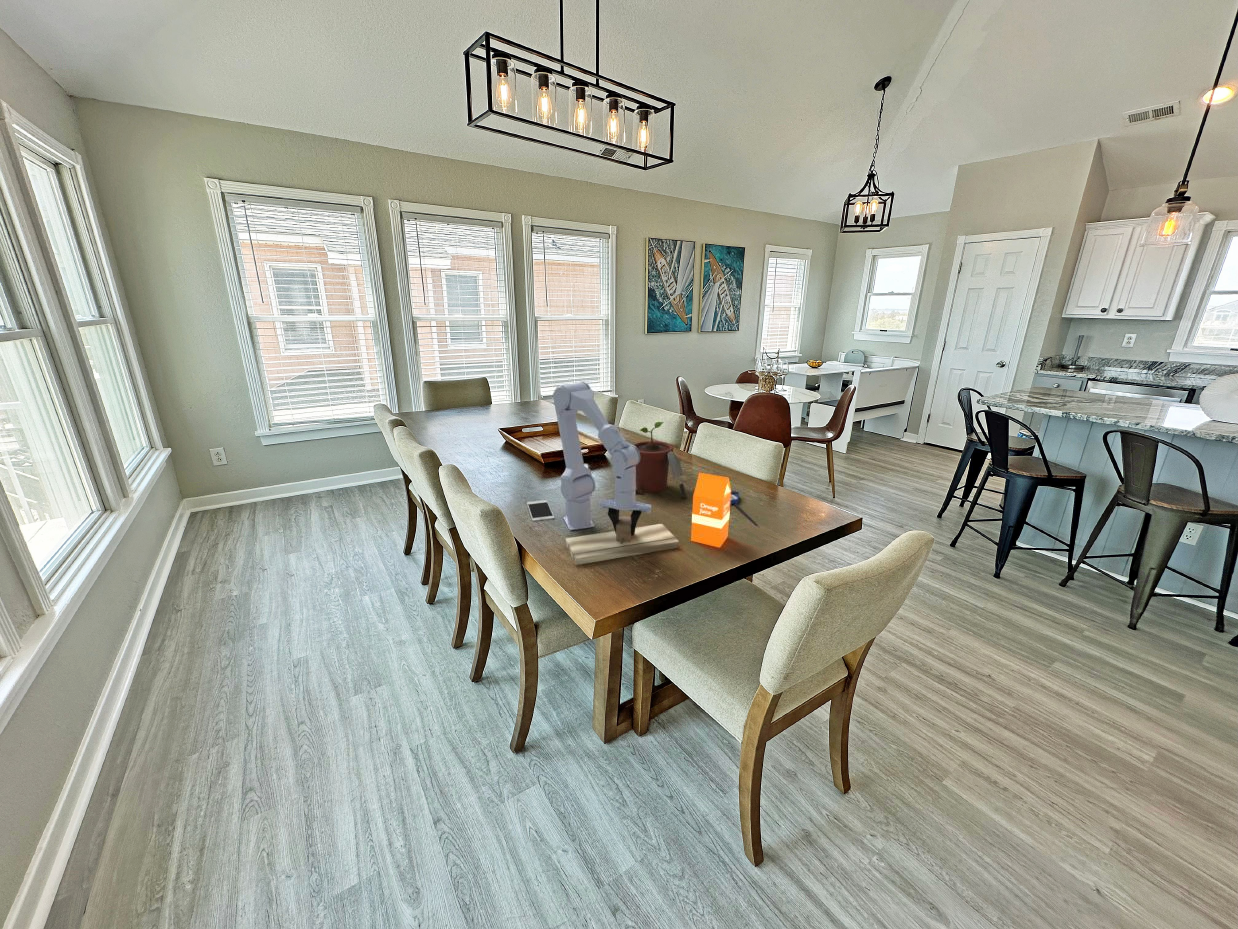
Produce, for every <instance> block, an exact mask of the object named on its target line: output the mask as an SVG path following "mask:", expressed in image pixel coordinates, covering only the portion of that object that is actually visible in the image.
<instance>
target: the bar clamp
mask: <svg viewBox="0 0 1238 929" xmlns="http://www.w3.org/2000/svg"><path fill="white" fill-rule="evenodd" d="M739 499H740V492H739V491H736V490H733V489H731V500H730V506H734V507H736V508H737V509H738V510H739V511H740V513H741V514H743V516H745V517H746V519H748V520H749V521H750V522H751V523H752V524H753V525H754V526H755V527H756V526H757V527H759V524H757V523H756V522H755V520H753V518H752V517H750V516H749V515H748V514H747V513H746V512H745V511H744V510H743V509H742V508H741V507H740V506H739V504H737V503H739ZM732 504H734V505H732ZM754 522H755V523H754Z"/></svg>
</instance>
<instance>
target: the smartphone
mask: <svg viewBox="0 0 1238 929" xmlns="http://www.w3.org/2000/svg"><path fill="white" fill-rule="evenodd" d="M526 506H527V508H528V512H529V515H530V518H532V519H531V521H532V522H533V523H535V522H541V521H542V520H543V521H549V520H550V521H551V520H555V515H554V513H553V511H552V509H551V506H550V504H549V502H548V500H547V499H544V500H536V501H535V500H534V501H527V502H526Z"/></svg>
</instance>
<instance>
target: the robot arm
mask: <svg viewBox="0 0 1238 929" xmlns="http://www.w3.org/2000/svg"><path fill="white" fill-rule="evenodd" d="M594 397H595V394H594V391H593V390H592V388H591V386H590V384H588V383H587V382H586V381H580V382H575V383H569V384H560V385H558V386H556V388H555V389H554V391H553V393H552V399H553V404H554V408H555V413H556V420H557V425H558V430H559V435H560V436H559V437H560V441H561V446H562V452H563V456H564V457H563V458H564V462H565V468H566V469H565V470H564V472H563V473H562V474H561V475H560V482H561V483H560V493H561V496H563V498H564V500H565V514H566V515H565V516H563V521H564V522H565V523H566V524H565V525H566V526H567V528H568V530H569V531H575V530H581V529H582V530H583V529H588V528H594V527H596V525H595V524H594V522H593V521H592V518H591V515H592V514H591V497H592V496H593V493H594V492H595V490H596V481H595V478H594V477H593V475H592V470H591V469H590V468H588V467H586V465H585V462H584V458H583V453H582V447H581V443H580V442H581V441H580V436H579V430H578V424H577V420H576V415H577V413H578V412H582V413H583V414H584V415H585V416H586V418H587V419H588V420H589V421H590V422H591V423H592V425H593V426H594V427H595V428H596V429H597V431H598V433H597V434H598V435H597V438H598V439H599V441H600V442H601V443H602V445H603V446H604V448H605V449H606V450H607V453H609V455H610V458H609V461H610V465H611V466H612V469H613V475H614V499H609V500H608V499H607V500H605V499H603V500H602V499H600V501H599V504H598V505H599V506H598V507H599V510H604V509H605V510H606V509H607V516H608V517H609V520H610V521H611V523H612V526H613V529H614V530H613V531H615V534H616V524H617V522H618V521H619V519H620V511H623V512H624V511H629V512H630V511H631V514H630V517H631V535H632V536H633V535H634V533H635V528H637V524H638V521H639V519H640V517H641V515H642V513H646V514H648V515H649V514H651V512H652V504H647V503H643V502H639V501H636V494H635V489H637V488H636V466H635V465H637V464H638V463H639V462H640V453H639V451H638V449H637V447H636V446H634V445H632V444H631V443H630V442H628V441H627V440H626V439H625V437H624V436H623V435H622V433H621V432H620V430H619V428H618V427H617V426H616V425H614V424H612V423H611V424H610V423H609V422H608V420H607V419H606V417H605V416H604V414H603V412H602V410H601V409H600V408H599V406H598V403H597V402H596V400H595V399H594Z"/></svg>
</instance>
